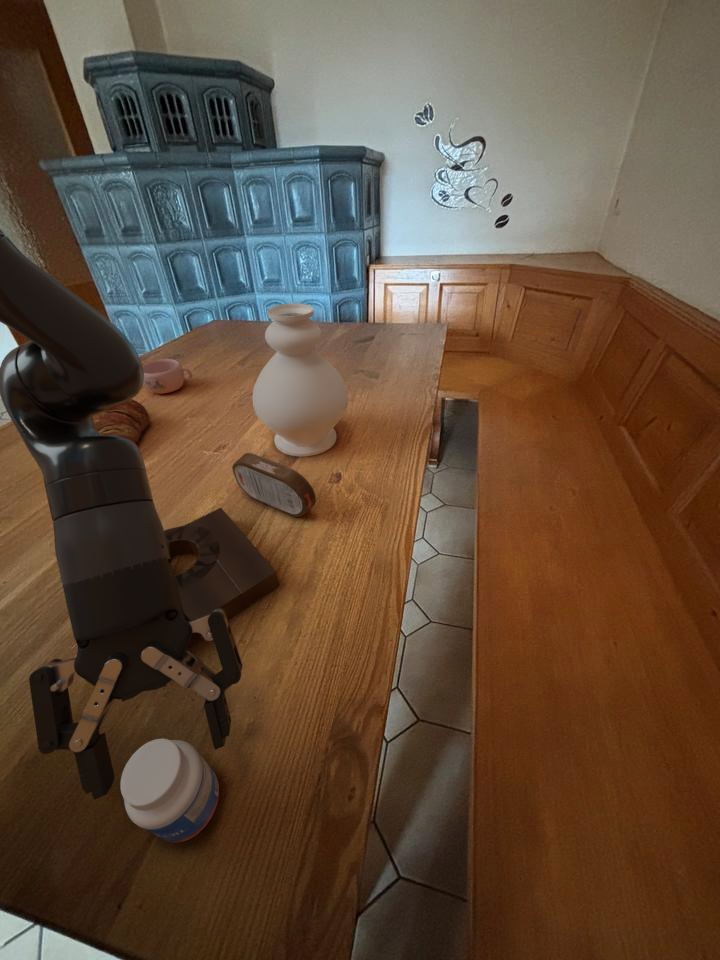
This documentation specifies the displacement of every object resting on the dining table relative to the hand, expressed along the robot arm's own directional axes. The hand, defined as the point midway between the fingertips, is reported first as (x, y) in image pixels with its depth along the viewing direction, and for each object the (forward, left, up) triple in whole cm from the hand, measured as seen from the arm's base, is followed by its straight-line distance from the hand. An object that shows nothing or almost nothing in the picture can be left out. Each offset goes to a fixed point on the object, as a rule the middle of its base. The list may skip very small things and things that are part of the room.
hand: (165, 765), depth 30 cm
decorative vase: (+41, +40, -7) cm, 57 cm away
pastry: (+13, +68, -7) cm, 70 cm away
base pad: (+9, +21, -7) cm, 24 cm away
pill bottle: (0, -1, -7) cm, 7 cm away
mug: (+29, +82, -7) cm, 87 cm away
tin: (+26, +27, -7) cm, 38 cm away
